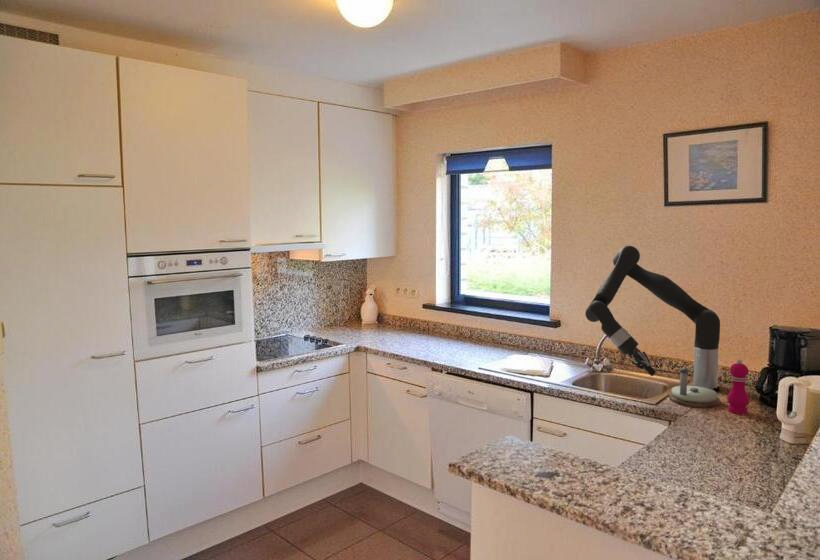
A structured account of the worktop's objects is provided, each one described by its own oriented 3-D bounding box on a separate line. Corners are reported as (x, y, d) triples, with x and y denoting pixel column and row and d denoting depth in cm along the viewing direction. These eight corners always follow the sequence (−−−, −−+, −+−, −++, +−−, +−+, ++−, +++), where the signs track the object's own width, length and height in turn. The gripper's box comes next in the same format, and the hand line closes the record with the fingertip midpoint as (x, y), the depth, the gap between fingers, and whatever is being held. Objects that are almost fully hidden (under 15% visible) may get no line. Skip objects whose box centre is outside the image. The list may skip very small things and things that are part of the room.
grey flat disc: (662, 393, 243) (663, 389, 242) (708, 394, 241) (708, 390, 241) (678, 407, 225) (678, 403, 225) (727, 408, 223) (727, 403, 223)
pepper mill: (745, 409, 221) (747, 357, 219) (751, 415, 214) (753, 362, 212) (724, 407, 223) (726, 356, 221) (729, 414, 216) (731, 361, 214)
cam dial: (665, 390, 242) (666, 361, 240) (707, 390, 240) (708, 361, 239) (680, 402, 225) (680, 372, 224) (724, 402, 224) (725, 372, 223)
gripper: (621, 343, 248) (651, 375, 242) (612, 350, 237) (642, 384, 232) (634, 332, 244) (665, 364, 238) (625, 339, 233) (657, 373, 228)
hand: (654, 374), depth 235 cm, fingers closed
